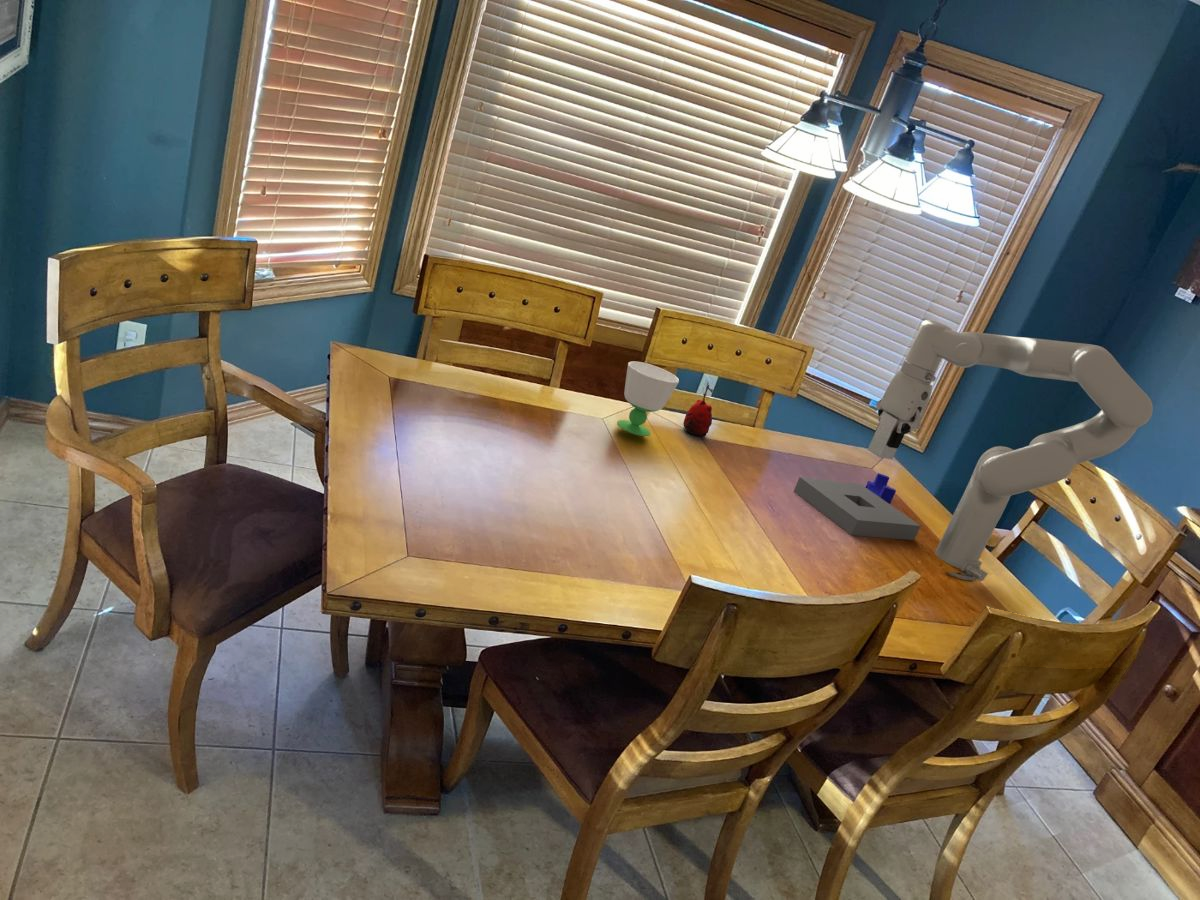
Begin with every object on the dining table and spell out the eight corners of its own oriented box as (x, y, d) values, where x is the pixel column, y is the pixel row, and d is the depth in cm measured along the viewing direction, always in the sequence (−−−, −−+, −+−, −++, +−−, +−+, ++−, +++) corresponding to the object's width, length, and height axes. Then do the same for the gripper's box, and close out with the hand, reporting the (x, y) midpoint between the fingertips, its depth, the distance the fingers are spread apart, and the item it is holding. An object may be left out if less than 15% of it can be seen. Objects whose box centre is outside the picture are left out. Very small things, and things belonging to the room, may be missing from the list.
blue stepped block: (863, 490, 258) (872, 470, 256) (879, 496, 258) (888, 476, 256) (870, 505, 247) (879, 485, 245) (886, 511, 246) (896, 491, 245)
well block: (914, 540, 231) (920, 525, 229) (850, 535, 219) (857, 520, 218) (855, 497, 248) (861, 484, 247) (793, 491, 236) (799, 476, 235)
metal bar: (892, 459, 228) (909, 421, 225) (879, 457, 225) (897, 419, 222) (880, 451, 231) (896, 414, 228) (867, 449, 229) (884, 412, 226)
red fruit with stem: (711, 437, 258) (730, 387, 253) (697, 438, 252) (716, 387, 248) (689, 425, 262) (708, 375, 257) (675, 426, 256) (694, 375, 252)
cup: (640, 420, 251) (659, 365, 246) (668, 442, 241) (690, 385, 236) (598, 415, 243) (618, 358, 238) (626, 437, 233) (647, 378, 228)
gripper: (953, 388, 217) (920, 459, 223) (902, 362, 230) (872, 430, 236) (932, 384, 213) (898, 456, 219) (881, 357, 226) (851, 426, 232)
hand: (885, 442), depth 227 cm, fingers closed on metal bar, 4 cm apart
